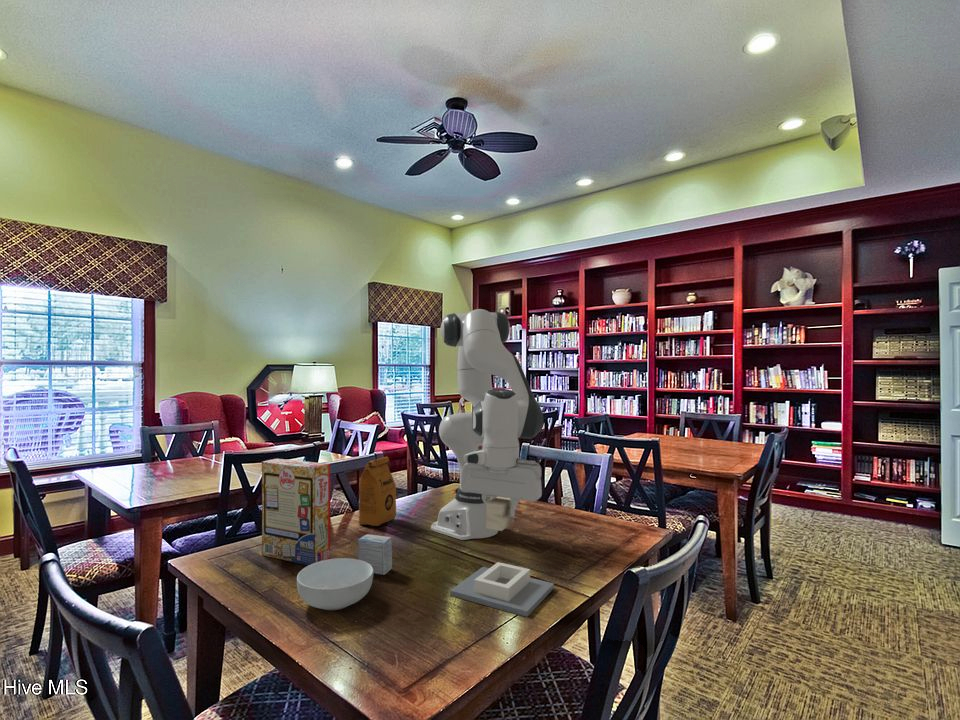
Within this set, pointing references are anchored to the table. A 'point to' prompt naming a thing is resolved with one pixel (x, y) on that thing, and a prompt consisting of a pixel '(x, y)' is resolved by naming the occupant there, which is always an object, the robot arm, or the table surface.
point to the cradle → (504, 589)
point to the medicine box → (376, 552)
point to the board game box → (296, 510)
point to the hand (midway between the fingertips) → (500, 514)
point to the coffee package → (377, 494)
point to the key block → (498, 513)
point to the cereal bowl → (334, 583)
